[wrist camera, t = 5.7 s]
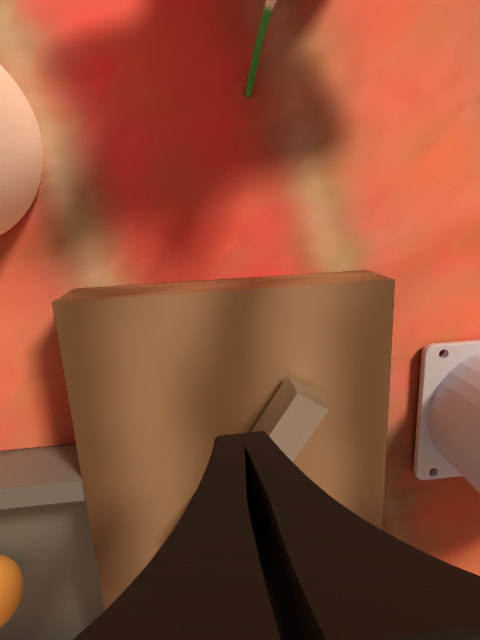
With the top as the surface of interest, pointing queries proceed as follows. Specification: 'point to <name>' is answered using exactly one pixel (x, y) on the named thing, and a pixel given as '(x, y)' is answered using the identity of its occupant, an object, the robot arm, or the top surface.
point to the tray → (48, 543)
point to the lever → (292, 416)
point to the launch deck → (217, 393)
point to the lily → (259, 45)
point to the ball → (9, 588)
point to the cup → (17, 153)
